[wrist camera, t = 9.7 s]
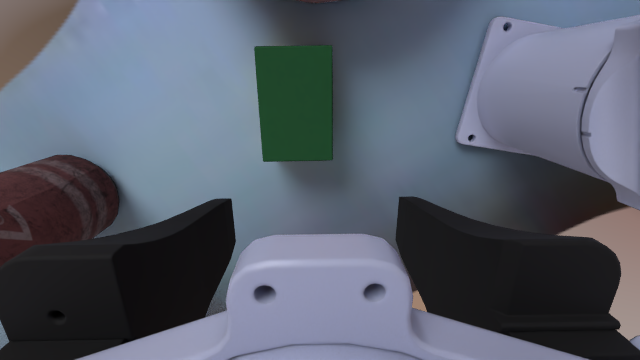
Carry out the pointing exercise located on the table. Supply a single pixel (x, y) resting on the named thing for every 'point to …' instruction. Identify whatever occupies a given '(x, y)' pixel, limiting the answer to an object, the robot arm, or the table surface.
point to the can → (54, 203)
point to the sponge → (295, 102)
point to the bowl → (317, 1)
